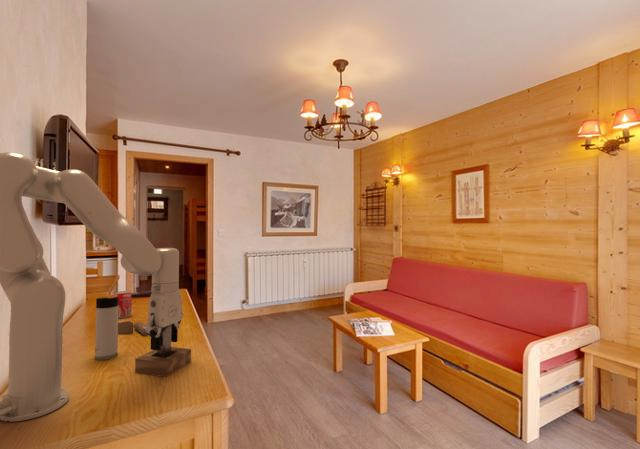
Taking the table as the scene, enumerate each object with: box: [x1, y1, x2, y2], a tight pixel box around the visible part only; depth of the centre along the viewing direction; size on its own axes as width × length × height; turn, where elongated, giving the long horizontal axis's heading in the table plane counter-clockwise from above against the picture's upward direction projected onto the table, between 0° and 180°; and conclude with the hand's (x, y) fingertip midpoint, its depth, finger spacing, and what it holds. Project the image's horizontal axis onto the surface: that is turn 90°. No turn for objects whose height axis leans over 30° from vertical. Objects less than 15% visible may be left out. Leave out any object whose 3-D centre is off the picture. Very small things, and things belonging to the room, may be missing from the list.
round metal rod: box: [157, 325, 172, 358], centre depth 99 cm, size 4×4×14 cm
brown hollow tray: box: [134, 346, 192, 378], centre depth 99 cm, size 11×11×4 cm
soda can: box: [114, 290, 133, 320], centre depth 153 cm, size 7×7×12 cm
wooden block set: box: [118, 320, 157, 336], centre depth 129 cm, size 17×6×18 cm
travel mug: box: [94, 296, 119, 361], centre depth 106 cm, size 6×7×20 cm
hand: (164, 345), depth 99 cm, fingers open, 6 cm apart
